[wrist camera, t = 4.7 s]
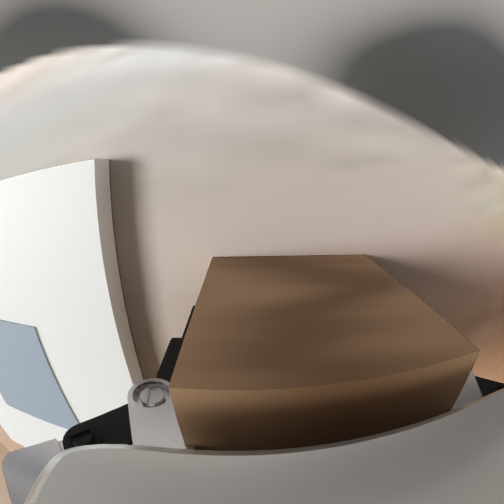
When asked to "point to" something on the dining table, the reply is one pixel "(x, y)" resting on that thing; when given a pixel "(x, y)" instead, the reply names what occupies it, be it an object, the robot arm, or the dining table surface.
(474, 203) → the dining table surface
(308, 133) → the dining table surface
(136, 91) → the dining table surface
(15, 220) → the board
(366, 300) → the walnut block
